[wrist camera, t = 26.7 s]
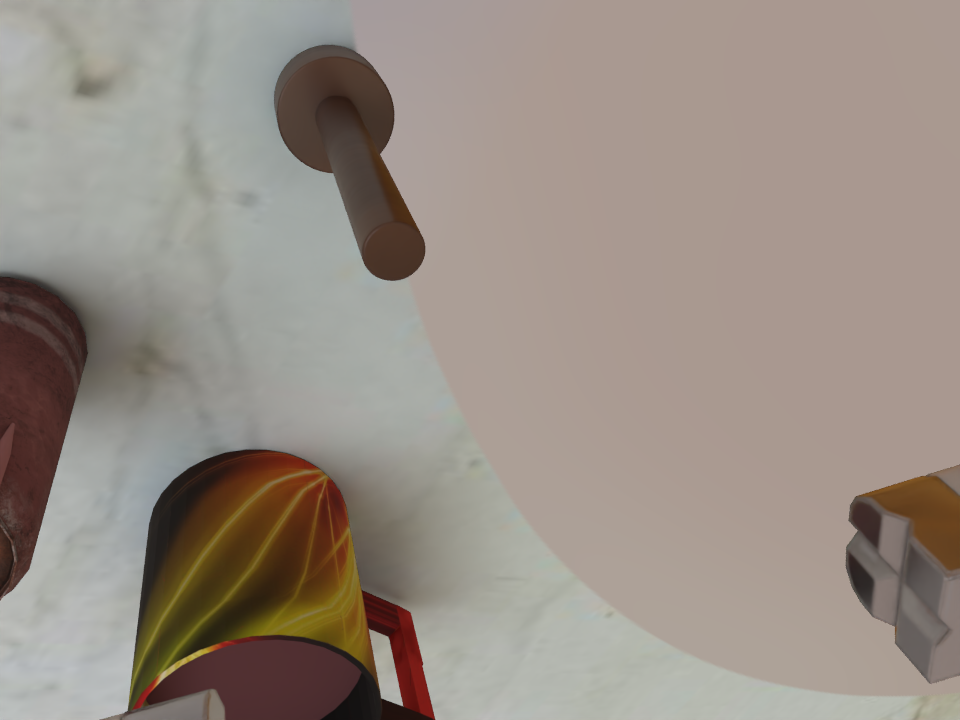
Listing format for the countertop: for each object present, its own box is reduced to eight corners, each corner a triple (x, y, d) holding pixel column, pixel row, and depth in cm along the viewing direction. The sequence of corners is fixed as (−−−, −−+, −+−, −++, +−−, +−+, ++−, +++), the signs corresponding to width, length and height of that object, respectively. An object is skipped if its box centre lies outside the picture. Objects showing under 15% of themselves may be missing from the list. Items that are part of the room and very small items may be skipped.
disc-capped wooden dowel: (260, 57, 35) (283, 189, 21) (372, 34, 35) (465, 147, 22) (290, 167, 37) (328, 349, 23) (394, 143, 37) (491, 307, 24)
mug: (403, 608, 50) (448, 800, 40) (139, 600, 45) (113, 815, 35) (445, 465, 46) (507, 638, 36) (160, 440, 41) (138, 632, 31)
